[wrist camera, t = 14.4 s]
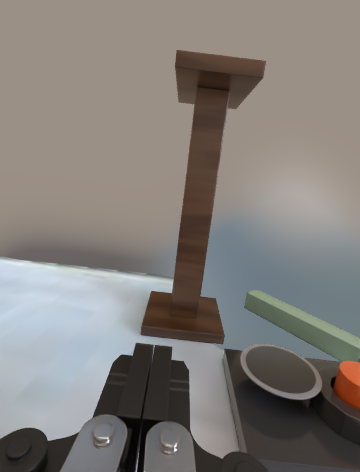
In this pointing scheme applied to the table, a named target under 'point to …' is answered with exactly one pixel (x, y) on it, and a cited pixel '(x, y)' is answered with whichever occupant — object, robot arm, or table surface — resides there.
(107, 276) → the table surface
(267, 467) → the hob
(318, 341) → the green and grey stick
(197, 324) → the stand
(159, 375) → the robot arm
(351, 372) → the button
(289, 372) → the burner ring
